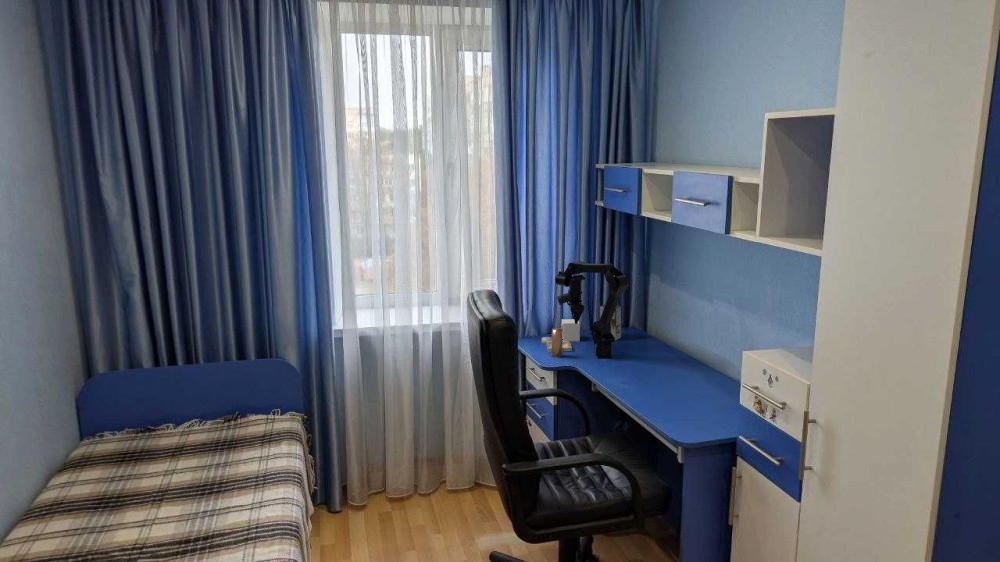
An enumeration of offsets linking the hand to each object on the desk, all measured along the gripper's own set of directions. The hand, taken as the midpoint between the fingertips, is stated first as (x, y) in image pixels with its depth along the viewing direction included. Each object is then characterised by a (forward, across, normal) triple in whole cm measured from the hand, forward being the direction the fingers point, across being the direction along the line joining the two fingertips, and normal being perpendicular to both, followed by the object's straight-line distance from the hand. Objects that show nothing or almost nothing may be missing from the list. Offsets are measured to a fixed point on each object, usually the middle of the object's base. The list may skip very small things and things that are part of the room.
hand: (574, 321), depth 315 cm
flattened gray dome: (+13, -9, -12) cm, 20 cm away
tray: (+13, 0, -7) cm, 15 cm away
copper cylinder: (+13, +12, -9) cm, 20 cm away
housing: (+13, -15, 0) cm, 20 cm away
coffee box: (+13, -17, +20) cm, 29 cm away
